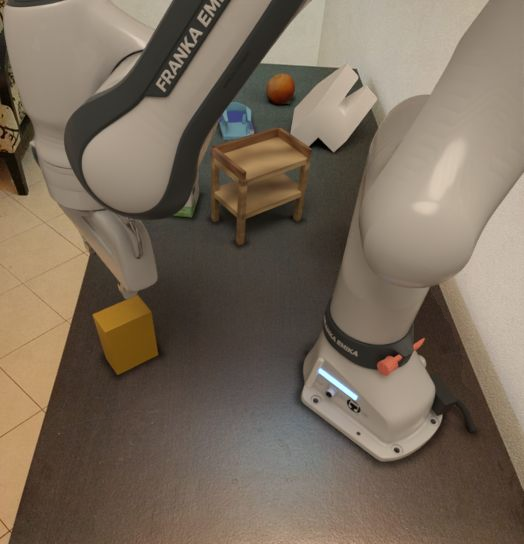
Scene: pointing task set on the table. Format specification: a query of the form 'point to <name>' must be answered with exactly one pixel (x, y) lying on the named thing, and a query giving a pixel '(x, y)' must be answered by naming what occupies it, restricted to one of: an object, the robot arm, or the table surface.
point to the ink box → (190, 201)
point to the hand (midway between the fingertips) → (111, 271)
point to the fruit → (280, 89)
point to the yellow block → (126, 334)
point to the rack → (258, 175)
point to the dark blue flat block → (237, 118)
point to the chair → (235, 129)
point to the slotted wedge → (332, 110)
